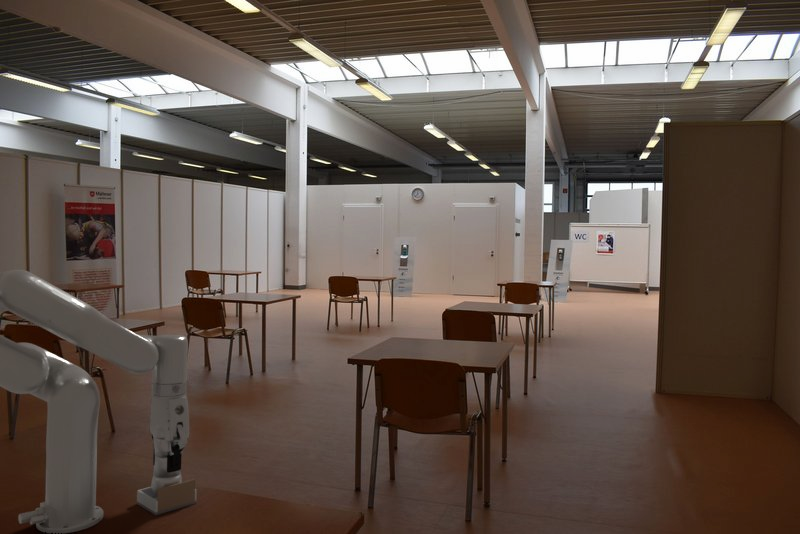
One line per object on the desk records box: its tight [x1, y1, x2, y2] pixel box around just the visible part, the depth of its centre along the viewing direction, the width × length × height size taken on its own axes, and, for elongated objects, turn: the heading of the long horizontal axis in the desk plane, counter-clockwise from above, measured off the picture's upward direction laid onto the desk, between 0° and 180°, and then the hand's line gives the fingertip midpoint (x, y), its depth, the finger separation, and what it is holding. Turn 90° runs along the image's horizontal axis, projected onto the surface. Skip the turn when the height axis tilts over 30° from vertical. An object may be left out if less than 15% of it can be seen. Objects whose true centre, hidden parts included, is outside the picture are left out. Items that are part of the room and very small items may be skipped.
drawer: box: [136, 478, 198, 516], centre depth 142 cm, size 10×9×6 cm
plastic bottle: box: [150, 425, 183, 496], centre depth 142 cm, size 6×7×20 cm
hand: (167, 466), depth 142 cm, fingers closed on plastic bottle, 5 cm apart
